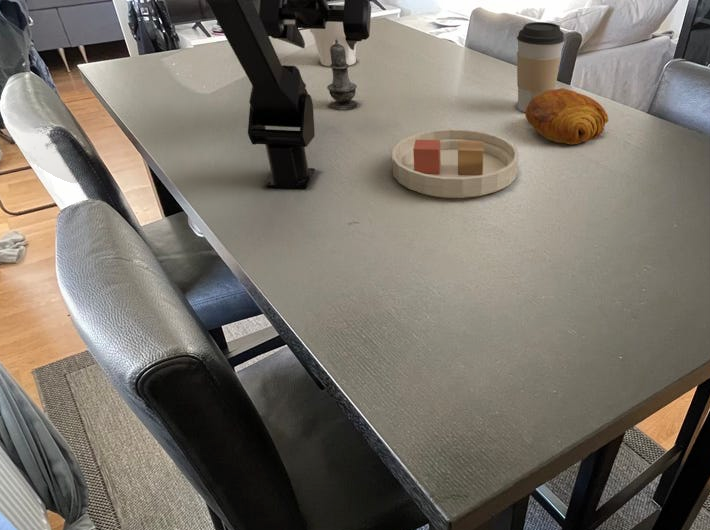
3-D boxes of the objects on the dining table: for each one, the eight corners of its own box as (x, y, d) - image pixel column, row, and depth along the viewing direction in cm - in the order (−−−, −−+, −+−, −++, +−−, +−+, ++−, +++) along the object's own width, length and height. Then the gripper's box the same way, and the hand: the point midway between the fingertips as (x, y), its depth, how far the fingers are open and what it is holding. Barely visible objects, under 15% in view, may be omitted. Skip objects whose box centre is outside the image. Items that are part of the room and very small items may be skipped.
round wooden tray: (519, 202, 88) (521, 180, 86) (385, 199, 89) (383, 177, 86) (514, 150, 103) (516, 130, 101) (399, 148, 103) (398, 127, 101)
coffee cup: (505, 110, 118) (510, 25, 108) (522, 98, 124) (529, 16, 114) (546, 118, 115) (555, 31, 105) (562, 105, 121) (573, 21, 111)
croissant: (542, 161, 105) (548, 117, 99) (515, 119, 114) (519, 76, 108) (615, 151, 108) (626, 108, 101) (583, 111, 117) (591, 69, 111)
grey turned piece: (353, 111, 117) (345, 43, 109) (325, 109, 118) (315, 41, 109) (362, 101, 121) (356, 36, 113) (335, 99, 122) (327, 34, 114)
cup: (306, 58, 144) (298, 6, 137) (355, 53, 148) (350, 2, 141) (319, 72, 136) (311, 17, 129) (370, 66, 140) (366, 12, 132)
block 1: (439, 174, 94) (438, 149, 91) (414, 173, 94) (413, 148, 91) (440, 164, 97) (440, 139, 94) (416, 163, 97) (415, 139, 94)
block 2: (482, 175, 94) (483, 150, 91) (457, 174, 94) (457, 150, 91) (482, 165, 97) (483, 140, 94) (458, 164, 97) (458, 140, 94)
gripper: (362, -63, 91) (381, 5, 107) (246, -66, 92) (281, 1, 108) (357, 6, 91) (377, 64, 106) (240, 3, 92) (277, 61, 107)
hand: (328, 46), depth 107 cm, fingers open, 9 cm apart
